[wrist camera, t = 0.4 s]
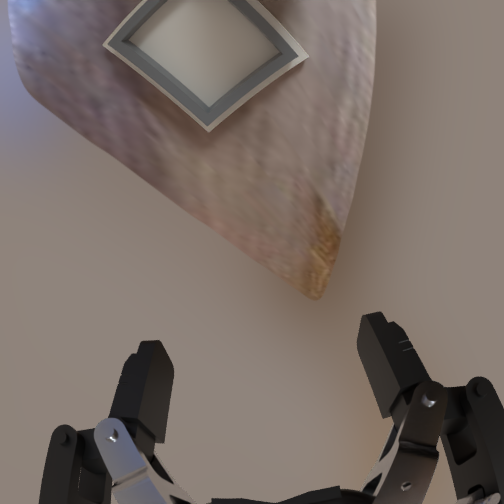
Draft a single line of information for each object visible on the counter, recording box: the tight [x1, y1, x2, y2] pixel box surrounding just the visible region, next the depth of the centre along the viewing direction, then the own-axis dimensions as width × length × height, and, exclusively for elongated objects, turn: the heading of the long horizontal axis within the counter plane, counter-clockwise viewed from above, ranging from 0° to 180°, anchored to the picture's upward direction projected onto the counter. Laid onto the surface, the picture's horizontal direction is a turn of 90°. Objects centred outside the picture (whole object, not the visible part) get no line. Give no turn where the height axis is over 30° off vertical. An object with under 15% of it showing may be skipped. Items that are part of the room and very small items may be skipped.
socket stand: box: [102, 0, 309, 133], centre depth 23 cm, size 19×16×4 cm
